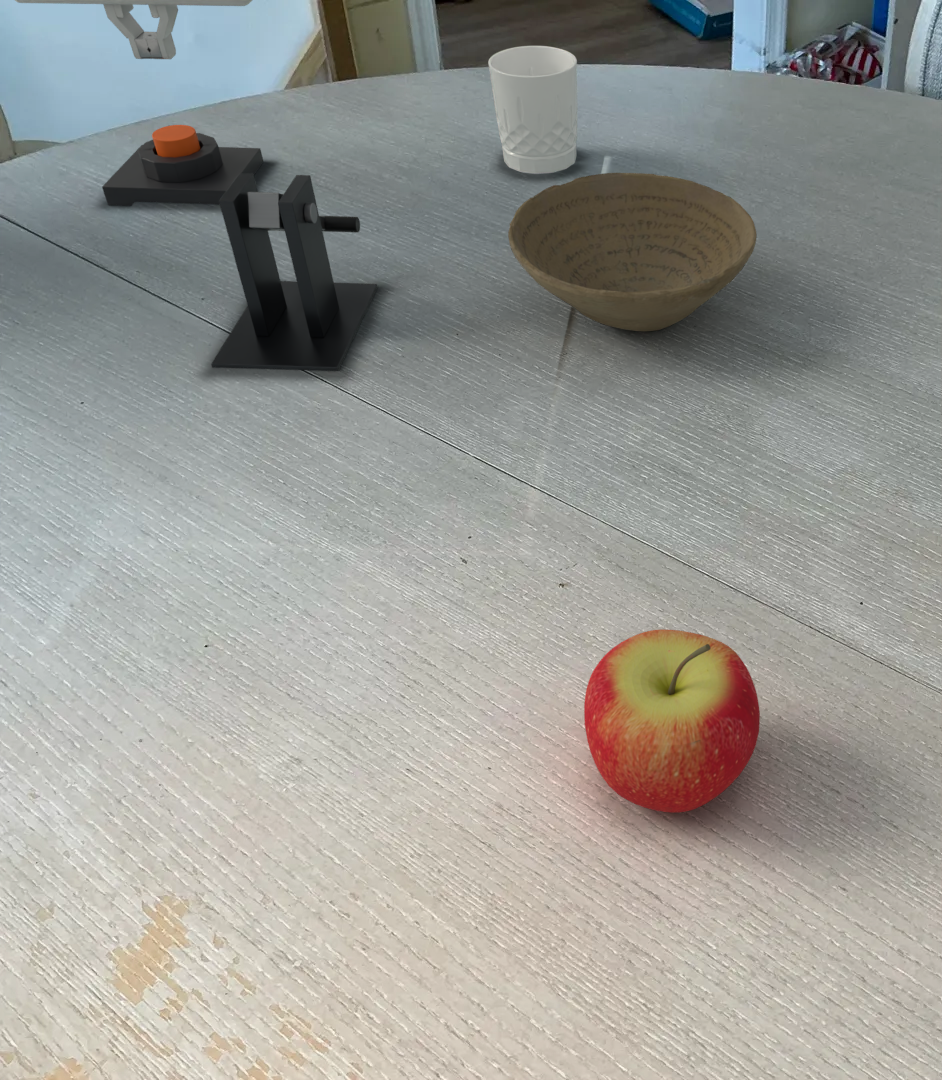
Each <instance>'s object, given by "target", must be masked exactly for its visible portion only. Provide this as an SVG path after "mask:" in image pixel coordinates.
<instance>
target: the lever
mask: <svg viewBox="0 0 942 1080" xmlns="http://www.w3.org/2000/svg"><path fill="white" fill-rule="evenodd" d="M247 194H248V217H249V227H250V228H254V229H259V230H264V231H268V232H285V230H284V226H283V222H282V218H281V214H280V209H279V205H278V202H279V200H280V199H281V197H282V196H283V194H284V193H281V192H273V191H271V192H269V191H258V192H248V193H247ZM319 218H320V222H321V227H322V231H323V233H325V232H327V233H359V232H360V230H361V221H360V218H359V217H358V216H345V215H319Z"/></svg>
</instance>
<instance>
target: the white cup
mask: <svg viewBox="0 0 942 1080" xmlns="http://www.w3.org/2000/svg"><path fill="white" fill-rule="evenodd" d="M487 64H488V70H489V77H490V84H491V91H492V97H493V104H494V112H495V118H496V122H497V128H498V135H499V139H500V142H501V148H502V156H503V161H504V163H505V164H506V165H507V167H508V168H509V169H512V170H515V171H517V172H520V173H524V174H525V173H526V174H533V175H540V174H541V175H542V174H553V173H558V172H560V171H564V170H567V169H568V168H570V167H571V166H573V165H574V164H575V163H576V159H577V140H578V109H579V108H578V60H577V57H576V56H575V55H574V54H573V53H572V52H570V51H568V50H565V49H562V48H558V47H554V46H547V45H522V46H515V47H510V48H506V49H503V50H500V51H498V52H496V53H494V54H492V55H491V56H490V58H488V62H487Z"/></svg>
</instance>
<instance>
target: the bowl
mask: <svg viewBox="0 0 942 1080" xmlns="http://www.w3.org/2000/svg"><path fill="white" fill-rule="evenodd" d="M757 234H758V233H757V229H756V226H755V222H754V220H753V218H752V216H751V215H750V214H749V213H748V211H746V210H745V208H744V207H743V206H742V205H741V204H740V203H738V202H737V201H736V200H735V199H734V198H732V197H731V196H728V195H726V194H725V193H723V192H722V191H719V190H716V189H713V188H712V187H709V186H708V185H707V186H706V185H703V184H701V183H698V182H696V181H694V180H689V179H685V178H680V177H674V176H669V175H659V174H655V173H646V172H645V173H644V172H643V173H642V172H604V173H598V174H591V175H585V176H580V177H576V178H574V179H573V180H570V181H568V182H565V183H561V184H553V185H551V186H549V187H545V189H543V190H541V191H540V192H538V193H537V194H535V195H533V196H532V197H529V198H528V199H527V200H525V201H523V202H522V204H521V205H520V206H519V207H518V208H517V209H516V211H515V213H514V216H513V218H512V219H511V221H510V222H509V228H508V232H507V237H508V242H509V247H510V249H511V251H512V254H513V256H514V257H515V259H516V261H517V262H518V263H519V264H520V266H521V267H522V268H523V270H525V272H526V273H527V274H528V275H529V277H531V278H532V279H533V281H535V282H536V283H537V284H538V285H539V286H540V287H541V288H543V289H545V290H546V291H547V292H548V293H550V294H551V295H553V296H555V297H556V298H558V299H560V300H561V301H563V302H564V303H566V304H568V305H569V306H571V307H573V308H574V309H575V310H577V311H578V312H579V313H580V314H582V315H583V316H585V317H586V318H588V319H590V320H592V321H593V322H596V323H598V324H601V325H604V326H608V327H612V328H615V329H620V330H626V331H631V332H632V331H633V332H655V331H660V330H664V329H666V328H668V327H670V326H672V325H675V324H677V323H679V322H680V321H682V320H684V319H685V318H687V317H688V316H690V315H691V314H693V313H694V312H695V311H696V310H697V309H698V308H700V307H701V306H702V305H704V304H705V303H706V302H708V301H709V300H710V299H712V298H713V297H714V296H716V294H718V293H719V292H721V290H723V289H724V288H725V287H726V286H728V285H729V284H730V283H731V282H732V281H733V280H734V279H735V278H736V277H737V275H739V273H740V272H741V271H742V270H743V268H744V267H745V265H746V264H747V262H748V261H749V259H750V258H751V256H752V254H753V253H754V250H755V247H756V242H757Z"/></svg>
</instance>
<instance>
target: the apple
mask: <svg viewBox="0 0 942 1080" xmlns="http://www.w3.org/2000/svg"><path fill="white" fill-rule="evenodd" d="M759 703H760V702H759V698H758V693H757V689H756V686H755V684H754V681H753V678H752V675H751V673H750V671H749V669H748V667H747V666H746V664H745V663H744V661H743V660H742V658H741V657H740V656H739V654H738V653H737V652H736V651H735V650H734V649H733V648H732V647H730V646H729V645H728V644H726V643H724V642H723V641H720V640H718V639H715V638H713V637H709V636H707V635H703V634H700V633H696V632H690V631H685V630H677V629H652V630H647V631H643V632H640V633H637V634H635V635H633V636H631V637H628V638H627V639H625V640H623V641H621V642H620V643H618V644H616V645H615V646H614V647H612V648H611V649H610V650H609V651H608V652H607V653H606V654H605V655H604V656H603V657H602V658H601V659H600V660H599V661H598V663H597V664H596V666H595V668H593V670H592V672H591V675H590V677H589V680H588V682H587V685H586V689H585V696H584V705H583V706H584V707H583V708H584V709H583V711H584V713H583V716H584V717H583V719H584V728H585V735H586V741H587V744H588V749H589V751H590V754H591V757H592V759H593V762H594V764H595V766H596V768H597V770H598V773H599V774H600V776H601V777H602V779H603V780H604V781H605V783H606V784H607V785H608V787H610V789H611V790H613V792H615V793H616V794H617V795H619V796H620V797H621V798H623V799H625V800H627V801H628V802H630V803H632V804H634V805H636V806H639V807H641V808H644V809H649V810H653V811H657V812H664V813H685V812H689V811H693V810H696V809H698V808H700V807H702V806H704V805H706V804H708V803H709V802H711V801H713V800H714V799H715V798H717V797H718V796H719V795H721V794H722V793H723V792H724V791H726V790H727V789H728V788H729V787H730V786H731V785H732V784H733V783H734V781H736V780H737V778H738V777H739V776H740V775H741V774H742V773H743V771H744V770H745V768H746V767H747V765H748V763H749V762H750V760H751V758H752V756H753V753H754V751H755V749H756V747H757V743H758V738H759V733H760V719H761V714H760V713H761V712H760V705H759Z"/></svg>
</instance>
